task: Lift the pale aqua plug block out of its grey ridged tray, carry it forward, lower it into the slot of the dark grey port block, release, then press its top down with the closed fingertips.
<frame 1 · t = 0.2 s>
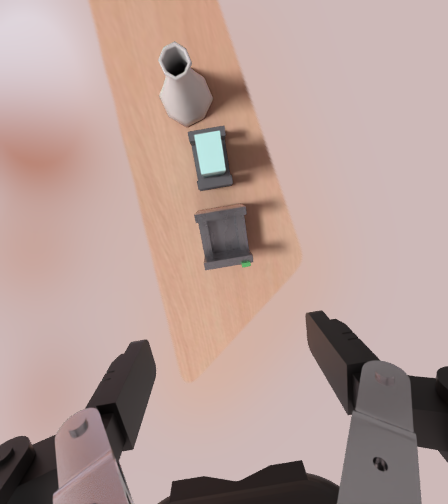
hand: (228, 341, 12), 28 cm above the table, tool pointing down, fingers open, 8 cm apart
grey ridged tray: (211, 161, 36), on the table
plug: (211, 161, 35), point 1 cm above the table, touching grey ridged tray
flask: (186, 98, 34), on the table
port: (223, 231, 38), on the table
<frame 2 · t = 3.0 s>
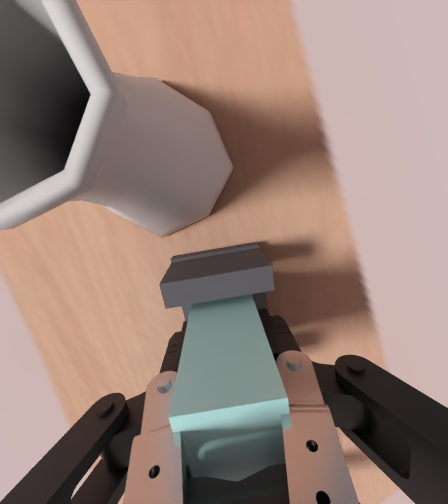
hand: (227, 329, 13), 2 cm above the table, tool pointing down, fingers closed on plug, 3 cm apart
grey ridged tray: (225, 309, 15), on the table
plug: (226, 314, 14), point 1 cm above the table, touching gripper, grey ridged tray
flask: (161, 165, 12), on the table
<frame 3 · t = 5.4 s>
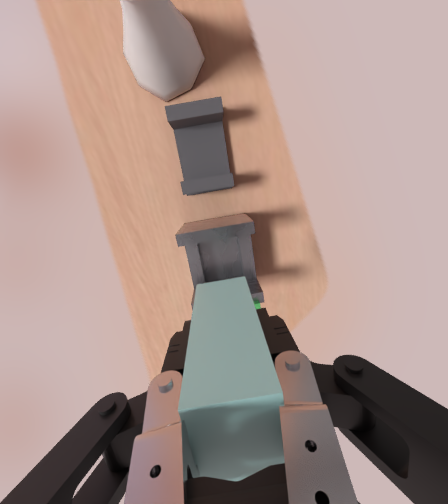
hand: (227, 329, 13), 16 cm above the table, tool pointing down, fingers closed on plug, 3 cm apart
grey ridged tray: (203, 153, 25), on the table
plug: (226, 311, 15), point 13 cm above the table, touching gripper
flask: (165, 58, 22), on the table
port: (220, 251, 28), on the table
when the fingers open (4 cm above the table, at t = 7.4 s): plug stays where it is, resting on port.
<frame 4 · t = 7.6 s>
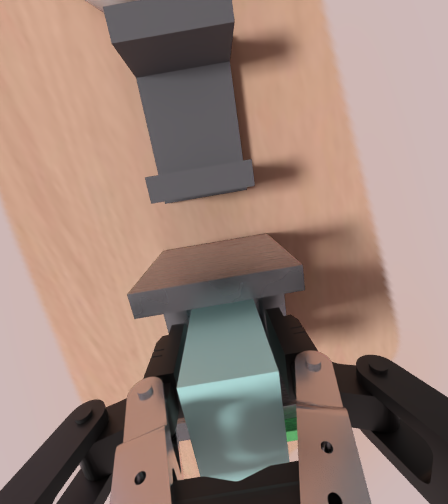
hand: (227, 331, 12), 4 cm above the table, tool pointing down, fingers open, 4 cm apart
grey ridged tray: (193, 126, 13), on the table
plug: (226, 308, 15), point 2 cm above the table, touching port
port: (224, 296, 16), on the table
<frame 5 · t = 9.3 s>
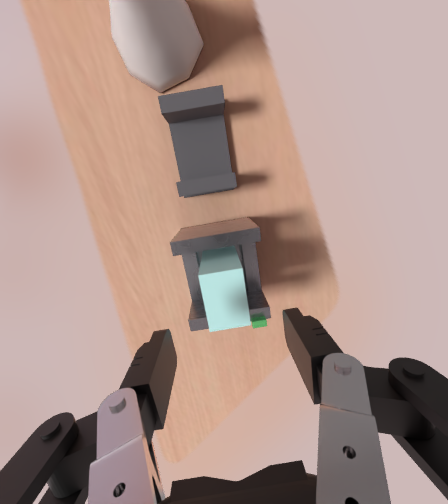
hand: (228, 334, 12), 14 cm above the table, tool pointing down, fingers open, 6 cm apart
grey ridged tray: (201, 150, 22), on the table
plug: (222, 264, 24), point 1 cm above the table, touching port
flask: (159, 44, 20), on the table
port: (221, 258, 25), on the table
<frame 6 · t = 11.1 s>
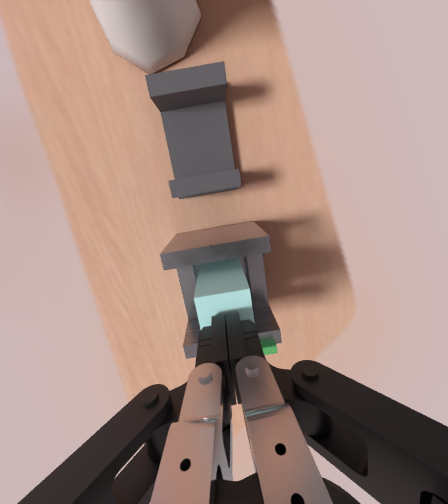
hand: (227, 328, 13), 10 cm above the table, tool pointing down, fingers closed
grey ridged tray: (199, 144, 19), on the table
plug: (223, 276, 21), point 1 cm above the table, touching port
flask: (149, 16, 17), on the table
port: (221, 268, 22), on the table
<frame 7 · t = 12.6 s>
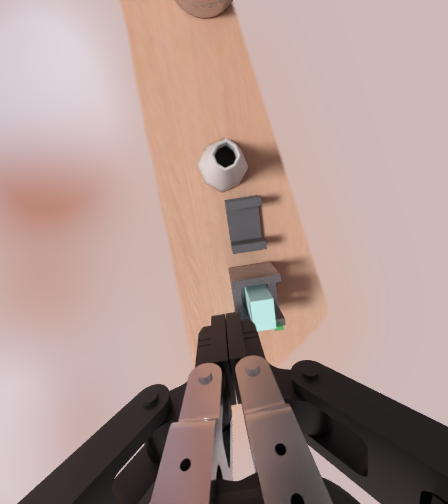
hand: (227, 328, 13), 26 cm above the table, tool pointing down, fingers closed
grey ridged tray: (243, 223, 37), on the table
plug: (253, 291, 38), point 1 cm above the table, touching port
flask: (222, 166, 35), on the table
port: (252, 286, 40), on the table
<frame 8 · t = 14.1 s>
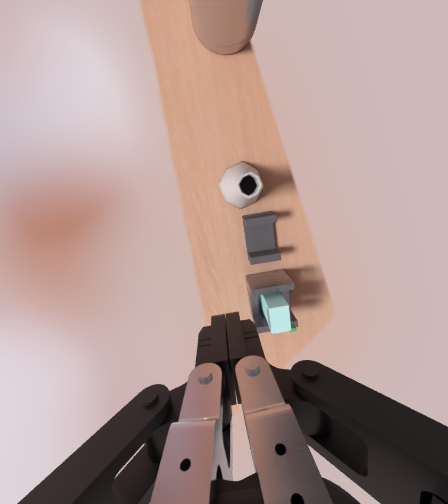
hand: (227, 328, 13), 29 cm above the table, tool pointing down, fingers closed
grey ridged tray: (259, 235, 41), on the table
plug: (268, 296, 43), point 1 cm above the table, touching port
flask: (240, 185, 39), on the table
port: (266, 291, 44), on the table
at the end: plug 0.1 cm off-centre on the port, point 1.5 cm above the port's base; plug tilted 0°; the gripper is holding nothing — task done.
